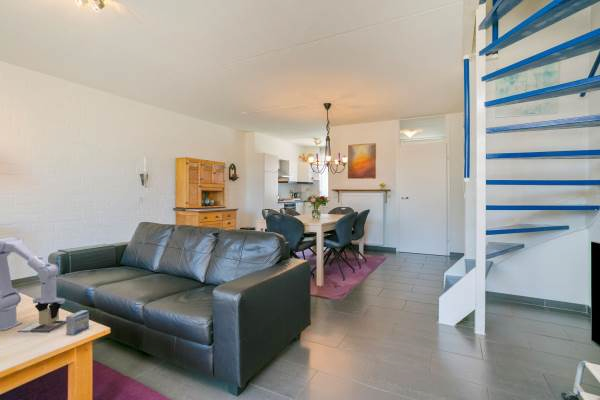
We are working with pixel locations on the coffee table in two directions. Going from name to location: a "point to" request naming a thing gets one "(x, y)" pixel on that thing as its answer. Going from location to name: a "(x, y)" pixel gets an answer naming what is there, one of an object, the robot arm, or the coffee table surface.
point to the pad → (29, 327)
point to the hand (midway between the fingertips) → (49, 317)
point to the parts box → (47, 316)
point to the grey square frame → (37, 329)
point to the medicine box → (77, 322)
